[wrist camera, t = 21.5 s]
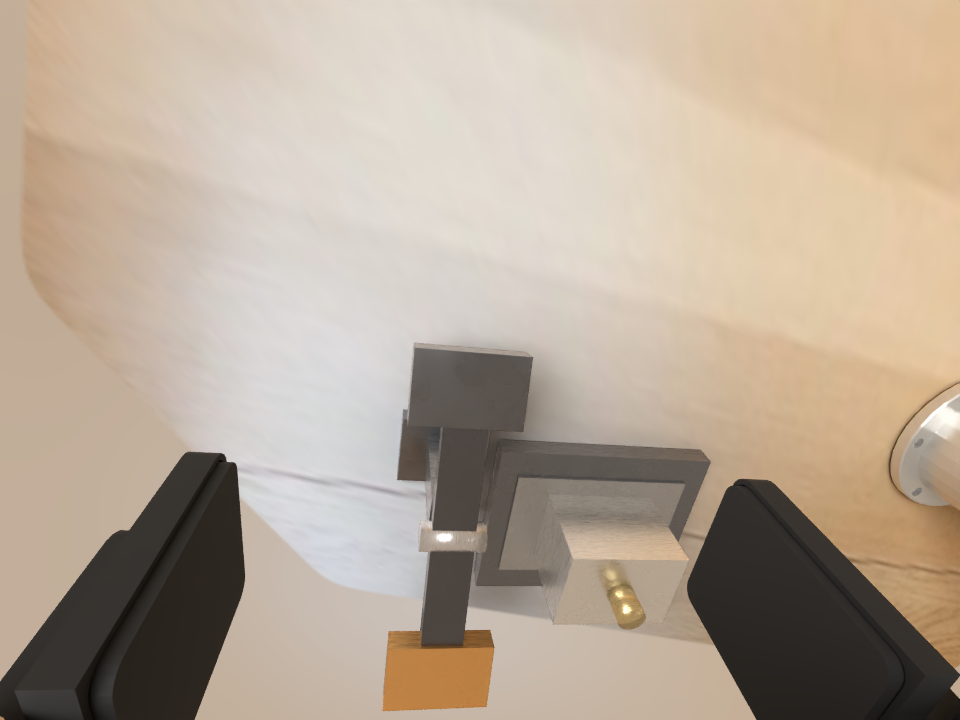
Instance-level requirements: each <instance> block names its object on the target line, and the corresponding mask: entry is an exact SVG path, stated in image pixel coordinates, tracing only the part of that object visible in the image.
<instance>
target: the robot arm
mask: <svg viewBox="0 0 960 720" xmlns="http://www.w3.org/2000/svg"><path fill="white" fill-rule="evenodd" d="M891 476H892V480H893V483H894V484H895V486H896V487H897V488H898V490H899V491H901V492H902V493H903V494H905V495H906V496H907V497H908V498H909V499H911V500H913V501H915V502H917V503H919V504H923V505H927V506H945V505H952V506H953V507H955V508H956V509H957V510H959V511H960V383H959V384H956V385H955V386H953V387H951V388H949V389H948V390H946V391H944V392H943V393H941V394H940V395H938V396H937V397H936V398H934V399H933V400H932V401H930V402H929V403H928V404H927V405H926V406H925V407H923V408H922V409H921V410H920V411H919V412H918V413H917V414H916V415H915V416H914V418H913V419H912V420H911V421H910V422H909V424H908V425H907V426H906V427H905V429H904V431H903V432H902V434H901V435H900V437H899V438H898V441H897V443H896V445H895V448H894V450H893V454H892V458H891ZM244 582H245V568H244V554H243V542H242V528H241V514H240V501H239V488H238V474H237V466H236V464H235V463H234V462H227V461H226V457H225V455H224V454H222V453H204V452H187V453H185V454H184V455H183V456H182V457H181V459H180V460H179V462H178V463H177V464H176V466H175V467H174V469H173V470H172V471H171V473H170V474H169V476H168V477H167V478H166V480H165V481H164V483H163V484H162V486H161V487H160V488H159V490H158V491H157V492H156V494H155V495H154V497H153V498H152V499H151V501H150V502H149V503H148V505H147V506H146V508H145V509H144V510H143V512H142V513H141V515H140V516H139V517H138V519H137V520H136V522H135V523H134V525H133V526H132V527H131V529H130V530H129V531H125V530H120V531H118V532H116V533H114V534H113V535H112V536H111V537H110V538H109V539H108V540H107V541H106V542H105V543H104V545H103V546H102V547H101V549H100V550H99V551H98V553H97V554H96V555H95V557H94V558H93V559H92V561H91V562H90V563H89V565H88V566H87V568H86V569H85V570H84V571H83V572H82V574H81V575H80V576H79V578H78V579H77V580H76V582H75V583H74V584H73V586H72V587H71V588H70V590H69V591H68V592H67V594H66V595H65V596H64V598H63V599H62V600H61V602H60V603H59V604H58V606H57V607H56V608H55V610H54V611H53V612H52V614H51V615H50V616H49V618H48V619H47V620H46V622H45V623H44V624H43V625H42V627H41V628H40V629H39V631H38V632H37V633H36V635H35V636H34V637H33V639H32V640H31V642H30V643H29V644H28V645H27V647H26V648H25V649H24V651H23V652H22V653H21V655H20V656H19V657H18V659H17V660H16V661H15V663H14V664H13V665H12V667H11V668H10V669H9V671H8V672H7V673H6V675H5V676H4V677H3V679H2V680H1V681H0V720H194V719H195V717H196V714H197V712H198V709H199V706H200V704H201V701H202V698H203V696H204V693H205V690H206V688H207V685H208V682H209V680H210V677H211V675H212V672H213V670H214V667H215V664H216V662H217V659H218V656H219V654H220V651H221V649H222V646H223V643H224V640H225V638H226V635H227V633H228V630H229V628H230V625H231V622H232V620H233V617H234V614H235V612H236V609H237V607H238V604H239V601H240V599H241V596H242V592H243V588H244ZM687 592H688V596H689V599H690V601H691V603H692V605H693V607H694V609H695V611H696V612H697V614H698V616H699V618H700V619H701V621H702V623H703V625H704V627H705V628H706V630H707V632H708V634H709V636H710V637H711V639H712V641H713V643H714V645H715V646H716V648H717V650H718V652H719V653H720V655H721V657H722V659H723V661H724V662H725V664H726V666H727V668H728V669H729V671H730V673H731V675H732V677H733V678H734V680H735V682H736V684H737V686H738V687H739V689H740V691H741V693H742V695H743V696H744V698H745V700H746V701H747V703H748V705H749V707H750V709H751V710H752V712H753V714H754V716H755V718H756V720H960V699H959V698H958V697H957V696H956V695H955V694H954V692H952V690H951V689H950V687H951V686H952V685H953V684H954V683H955V681H956V680H957V679H958V678H959V676H960V674H959V673H958V672H957V671H956V670H955V669H954V668H953V667H952V666H951V665H950V664H949V663H948V662H947V661H946V660H945V659H944V658H943V657H942V655H941V654H940V653H939V652H938V651H937V650H936V649H935V648H934V647H933V646H932V645H931V644H930V643H929V642H928V641H927V640H926V639H925V638H924V637H923V636H922V635H921V634H920V633H919V632H918V631H917V630H916V629H915V628H914V627H913V626H912V625H911V624H910V623H909V622H908V621H907V620H906V618H905V617H904V616H903V615H902V614H901V613H900V612H899V611H898V610H897V609H896V608H895V607H894V606H893V605H892V604H891V603H890V602H889V601H888V600H887V599H886V598H885V597H884V596H883V595H882V594H881V593H880V592H879V591H878V590H877V589H876V588H875V587H874V586H873V585H872V584H871V583H870V581H869V580H868V579H867V578H866V577H865V576H864V575H863V574H862V573H861V572H860V571H859V570H858V569H857V568H856V567H855V566H854V565H853V564H852V563H851V562H850V561H849V560H848V559H847V558H846V557H845V556H844V555H843V554H842V553H841V552H840V551H839V550H838V549H837V548H836V547H835V546H834V544H833V543H832V542H831V541H830V540H829V539H828V538H827V537H826V536H825V535H824V534H823V533H822V532H821V531H820V530H819V529H818V528H817V527H816V526H815V525H814V524H813V523H812V522H811V521H810V520H809V519H808V518H807V517H806V516H805V515H804V514H803V513H802V512H801V511H800V510H799V509H798V507H797V506H796V505H795V504H794V503H793V502H792V501H791V500H790V499H789V498H788V497H787V496H786V495H785V494H784V493H783V492H782V491H781V490H780V489H779V488H778V487H777V486H776V485H775V484H774V483H772V482H771V481H768V480H755V479H739V480H737V481H736V482H735V483H734V484H733V486H730V487H729V488H728V489H727V490H726V492H725V494H724V497H723V499H722V501H721V504H720V506H719V508H718V511H717V513H716V516H715V518H714V520H713V523H712V525H711V528H710V530H709V532H708V535H707V537H706V539H705V542H704V544H703V547H702V549H701V551H700V554H699V556H698V558H697V561H696V563H695V566H694V568H693V570H692V573H691V575H690V577H689V580H688V583H687Z"/></svg>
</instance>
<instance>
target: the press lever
mask: <svg viewBox="0 0 960 720" xmlns="http://www.w3.org/2000/svg"><path fill="white" fill-rule="evenodd" d="M532 360H533V357H532V356H531V355H529V354H528V353H527V352H519V351H507V350H495V349H483V348H471V347H459V346H447V345H435V344H423V343H414V346H413V358H412V369H411V381H410V392H409V404H408V415H407V420H408V425H409V426H427V427H441V429H440V439H439V449H438V459H437V469H436V479H435V489H434V499H433V509H432V519H431V521H420V526H419V539H418V549H419V552H428V558H427V568H426V578H425V588H424V598H423V608H422V618H421V628H420V631H389V633H388V644H387V656H386V668H385V679H384V690H383V711H398V710H423V709H447V708H470V707H486V705H487V699H488V691H489V684H490V677H491V669H492V661H493V654H494V644H493V640H492V636H491V632H490V630H465V623H466V615H467V607H468V598H469V590H470V581H471V573H472V565H473V556H474V552H485V551H486V548H487V525H486V523H485V522H478V514H479V506H480V498H481V489H482V481H483V473H484V464H485V456H486V447H487V439H488V431H489V430H499V431H518V432H523V428H524V421H525V413H526V406H527V398H528V391H529V383H530V375H531V368H532Z"/></svg>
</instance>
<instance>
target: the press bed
mask: <svg viewBox="0 0 960 720" xmlns="http://www.w3.org/2000/svg"><path fill="white" fill-rule="evenodd" d="M407 415H408V410H403V418H402V429H401V439H400V450H399V460H398V474H397V480H412V481H426V505H427V521H431V519H432V509H433V499H434V489H435V479H436V469H437V459H438V449H439V439H440V429H441V427H427V426H409V425H408V420H407ZM490 433H491V430H489V431H488V439H487V447H486V455H487V450H488V444H489V439H490ZM485 461H486V456H485ZM710 462H711V461H710V460H709V459H708V458H707V457H706V456H705V455H704V453H703V452H702V451H701V450H693V449H674V448H654V447H635V446H616V445H596V444H577V443H558V442H539V441H519V440H500V439H499V442H498V448H497V453H496V458H495V463H494V468H493V474H492V479H491V484H490V489H489V495H488V500H487V505H486V510H485V515H484V521H483V522H485V523H486V525H487V548H486V551H485V552H477V557H476V563H475V568H474V575H475V582H476V586H542V583H541V579H540V576H539V572H538V569H537V565H536V561H535V558H534V553H535V549H536V545H537V541H538V537H539V533H540V530H541V526H542V522H543V518H544V514H545V510H546V506H547V503H548V499H549V495H568V496H595V497H623V498H650V499H651V500H652V502H653V504H654V505H655V507H656V508H657V510H658V512H659V513H660V515H661V516H662V518H663V519H664V521H665V523H666V524H667V526H668V527H669V529H670V531H671V532H672V534H673V535H674V537H675V539H676V540H677V542H678V541H679V538H680V536H681V533H682V531H683V529H684V526H685V524H686V521H687V519H688V516H689V514H690V511H691V509H692V506H693V504H694V502H695V499H696V497H697V494H698V492H699V489H700V487H701V484H702V482H703V479H704V477H705V475H706V472H707V470H708V467H709V465H710ZM484 466H485V464H484Z"/></svg>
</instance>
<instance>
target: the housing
mask: <svg viewBox="0 0 960 720" xmlns="http://www.w3.org/2000/svg"><path fill="white" fill-rule="evenodd" d="M534 558H535V561H536V565H537V569H538V572H539V576H540V579H541V583H542V586H543V590H544V593H545V597H546V601H547V604H548V608H549V611H550V615H551V618H552V622H553V624H618V625H619V626H620V627H621V628H623V629H634V628H637V627H639V626H640V625H641V624H643V623H662V622H663V620H664V618H665V615H666V613H667V611H668V608H669V606H670V604H671V602H672V599H673V597H674V595H675V592H676V590H677V588H678V585H679V583H680V581H681V578H682V576H683V574H684V572H685V569H686V567H687V565H688V562H689V559H688V558H687V556H686V554H685V553H684V551H683V550H682V548H681V546H680V545H679V543H678V542H677V540H676V539H675V537H674V535H673V534H672V532H671V531H670V529H669V527H668V526H667V524H666V523H665V521H664V519H663V518H662V516H661V515H660V513H659V512H658V510H657V508H656V507H655V505H654V504H653V502H652V500H651V499H650V498H623V497H595V496H568V495H549V499H548V503H547V506H546V510H545V514H544V518H543V522H542V526H541V530H540V533H539V537H538V541H537V545H536V549H535V553H534Z"/></svg>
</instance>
